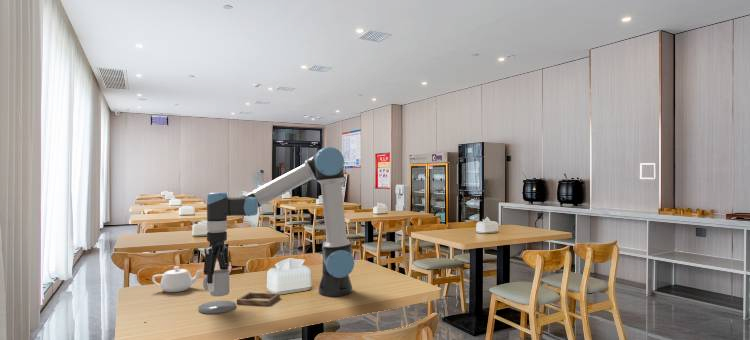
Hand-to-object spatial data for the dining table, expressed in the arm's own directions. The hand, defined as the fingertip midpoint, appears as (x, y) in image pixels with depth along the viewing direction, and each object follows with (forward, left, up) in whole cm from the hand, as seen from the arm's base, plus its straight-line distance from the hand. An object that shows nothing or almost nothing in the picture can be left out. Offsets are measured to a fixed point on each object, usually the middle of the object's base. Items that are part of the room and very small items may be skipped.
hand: (216, 288), depth 171 cm
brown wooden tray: (-12, -12, -8) cm, 19 cm away
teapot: (+33, -22, -8) cm, 40 cm away
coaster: (0, 0, -8) cm, 8 cm away
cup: (0, 0, -2) cm, 2 cm away
